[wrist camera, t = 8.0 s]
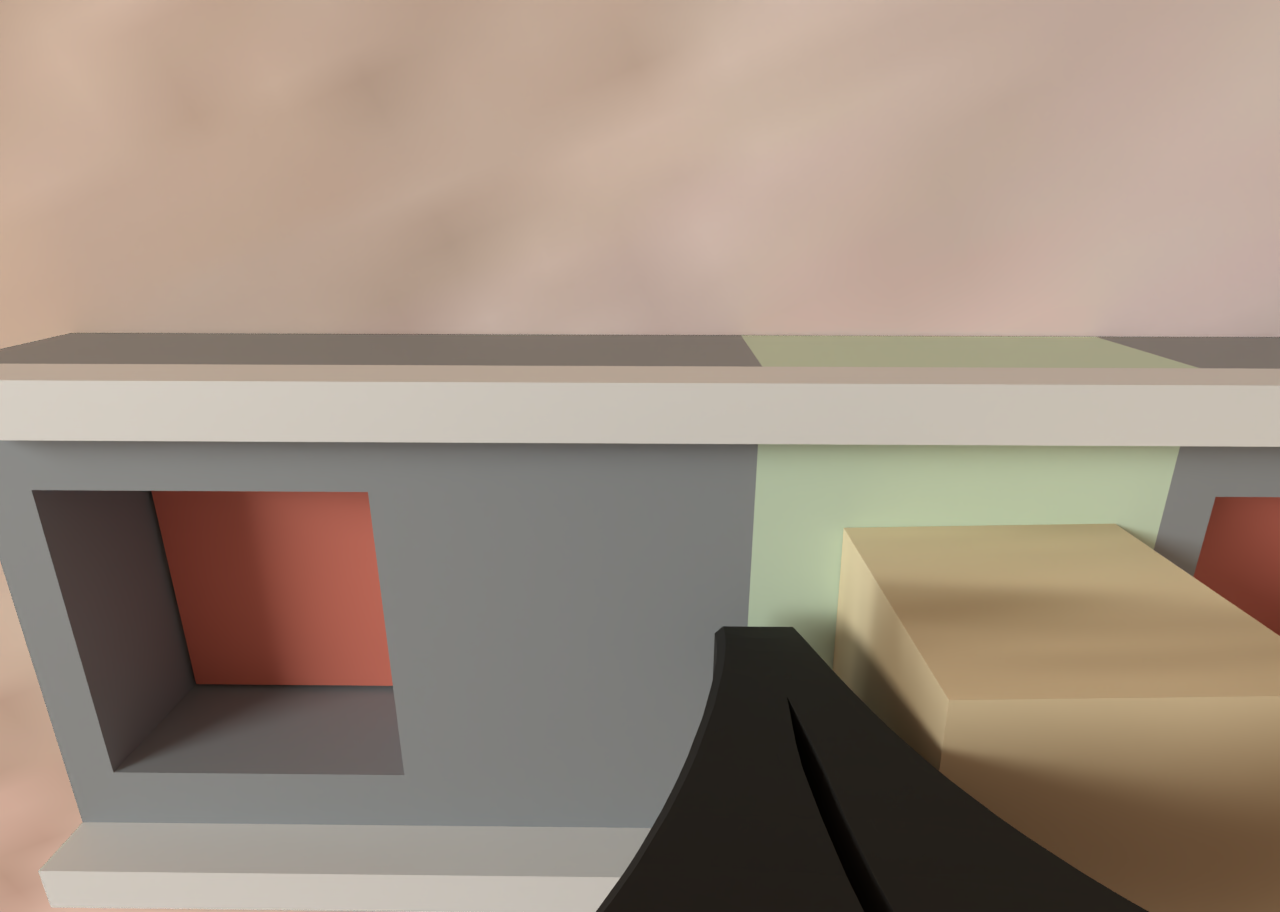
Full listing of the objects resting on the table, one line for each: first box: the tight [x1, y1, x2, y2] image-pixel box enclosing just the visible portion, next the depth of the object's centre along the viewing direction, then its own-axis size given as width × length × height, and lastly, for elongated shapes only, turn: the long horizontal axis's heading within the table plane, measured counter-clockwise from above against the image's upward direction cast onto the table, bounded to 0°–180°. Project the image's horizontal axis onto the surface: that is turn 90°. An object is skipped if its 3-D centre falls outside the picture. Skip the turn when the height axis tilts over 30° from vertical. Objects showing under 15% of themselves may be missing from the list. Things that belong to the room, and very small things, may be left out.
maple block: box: [833, 524, 1280, 912], centre depth 10 cm, size 4×4×4 cm
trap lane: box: [0, 333, 1280, 912], centre depth 12 cm, size 9×24×4 cm, turn 90°
